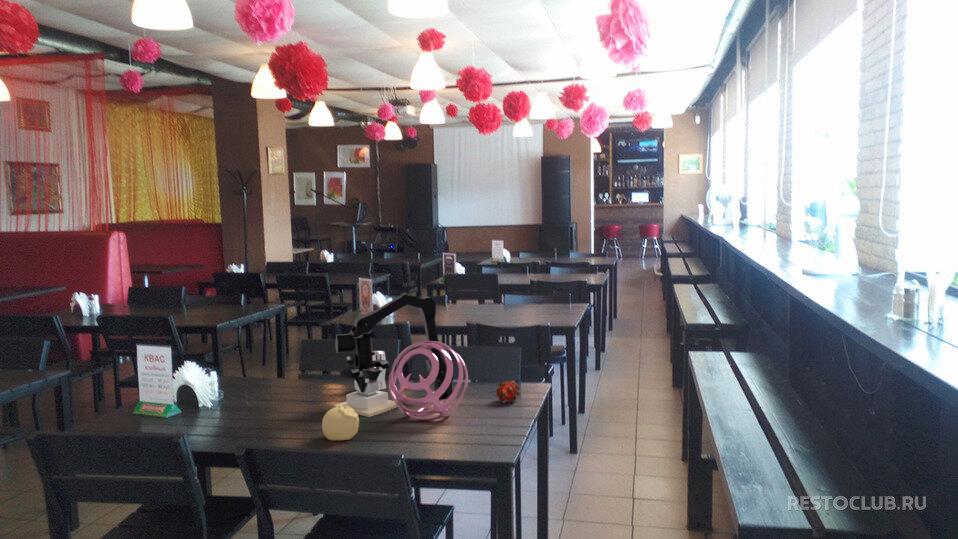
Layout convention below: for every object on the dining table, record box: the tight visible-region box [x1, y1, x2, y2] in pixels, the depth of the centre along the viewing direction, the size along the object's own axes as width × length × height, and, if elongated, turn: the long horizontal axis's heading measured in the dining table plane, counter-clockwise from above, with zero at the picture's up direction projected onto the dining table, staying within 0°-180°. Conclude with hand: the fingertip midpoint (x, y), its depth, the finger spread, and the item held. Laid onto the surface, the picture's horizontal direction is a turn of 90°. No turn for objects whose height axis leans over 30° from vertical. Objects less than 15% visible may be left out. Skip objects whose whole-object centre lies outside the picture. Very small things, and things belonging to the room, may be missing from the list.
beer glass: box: [372, 350, 387, 391], centre depth 287 cm, size 7×7×15 cm
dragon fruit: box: [496, 379, 522, 403], centre depth 260 cm, size 8×8×12 cm
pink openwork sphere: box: [388, 340, 469, 422], centre depth 246 cm, size 28×28×27 cm
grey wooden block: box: [353, 378, 380, 397], centre depth 260 cm, size 9×4×8 cm, turn 50°
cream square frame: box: [333, 390, 399, 418], centre depth 261 cm, size 20×16×5 cm
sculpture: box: [321, 405, 360, 441], centre depth 227 cm, size 12×12×11 cm
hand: (367, 391), depth 260 cm, fingers closed on grey wooden block, 4 cm apart
